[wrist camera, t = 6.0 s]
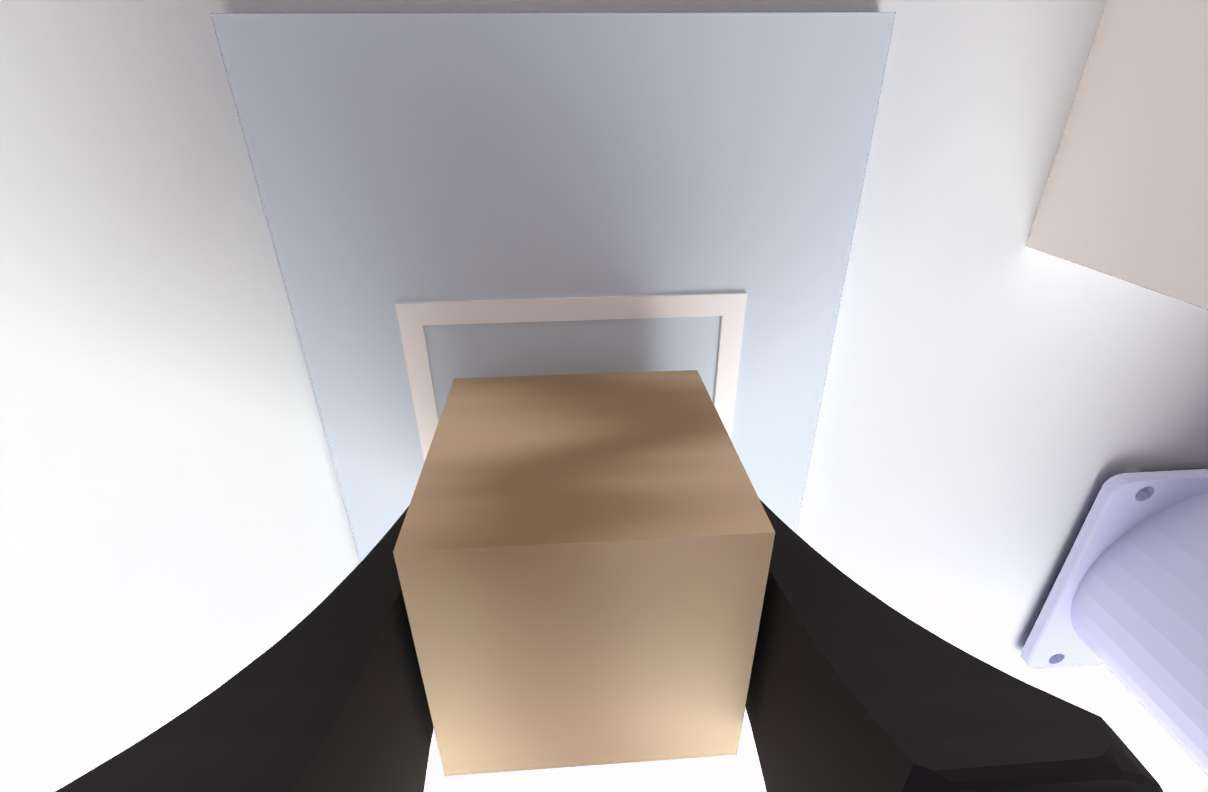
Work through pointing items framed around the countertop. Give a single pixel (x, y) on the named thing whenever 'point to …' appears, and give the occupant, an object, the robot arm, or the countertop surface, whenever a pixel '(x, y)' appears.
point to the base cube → (583, 572)
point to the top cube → (1136, 153)
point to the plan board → (558, 213)
